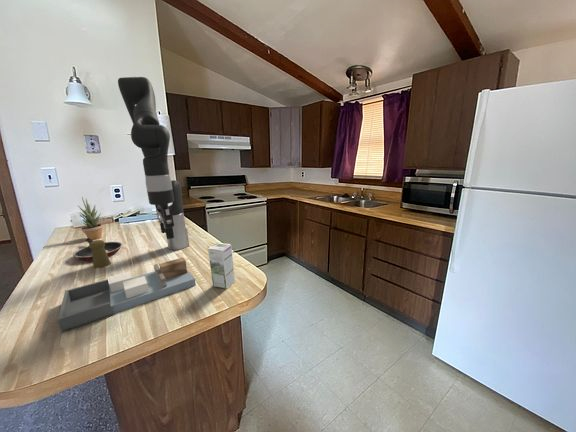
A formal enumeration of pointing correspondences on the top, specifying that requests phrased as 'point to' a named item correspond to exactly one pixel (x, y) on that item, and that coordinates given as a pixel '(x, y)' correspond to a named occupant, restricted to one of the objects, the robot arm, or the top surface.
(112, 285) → the tile
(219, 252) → the syrup box
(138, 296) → the board
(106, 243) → the frying pan
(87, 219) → the potted plant
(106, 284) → the tray
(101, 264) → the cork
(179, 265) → the scraper
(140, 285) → the tile
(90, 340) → the top surface
